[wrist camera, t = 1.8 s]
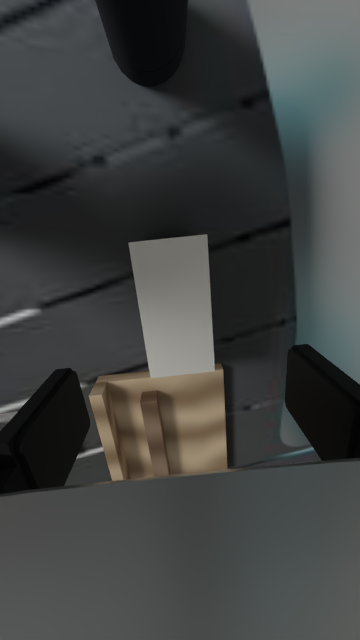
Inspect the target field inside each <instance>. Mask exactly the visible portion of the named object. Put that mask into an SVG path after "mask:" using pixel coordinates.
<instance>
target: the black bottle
mask: <svg viewBox="0 0 360 640" xmlns="http://www.w3.org/2000/svg"><path fill="white" fill-rule="evenodd" d="M95 1H96V4H97V7H98V10H99V13H100V16H101V20H102V23H103V26H104V29H105V32H106V35H107V38H108V42H109V45H110V48H111V51H112V54H113V57H114V60H115V61H116V63H117V65H118V66H119V68H120V69H121V71H122V72H123V73H124V74H125V75H126V76H127V77H128V78H129V79H130V80H132V81H134V82H136V83H138V84H141V85H145V86H155V85H157V84H160V83H162V82H165V81H166V80H167V79H168V78H169V77H170V76H171V75H173V74H174V72H175V70H176V69H177V67H178V65H179V63H180V62H181V58H182V54H183V50H184V46H185V32H186V18H187V4H188V0H95Z"/></svg>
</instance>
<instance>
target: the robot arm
mask: <svg viewBox="0 0 360 640" xmlns="http://www.w3.org/2000/svg"><path fill="white" fill-rule="evenodd" d="M285 404H286V407H287V409H288V411H289V412H290V414H291V415H292V417H293V418H294V420H295V421H296V423H297V424H298V426H299V427H300V429H301V430H302V432H303V433H304V435H305V436H306V437H307V439H308V440H309V442H310V443H311V445H312V446H313V448H314V449H315V451H316V452H317V454H318V455H319V457H320V458H321V460H322V461H314V462H303V463H292V464H281V465H270V466H259V467H248V468H238V469H227V470H217V471H207V472H196V473H186V474H176V475H166V476H156V477H146V478H136V479H127V480H117V481H108V482H98V483H89V484H79V485H70V486H64V484H65V482H66V480H67V478H68V475H69V473H70V471H71V469H72V466H73V464H74V462H75V460H76V457H77V455H78V453H79V450H80V448H81V446H82V444H83V441H84V439H85V437H86V435H87V432H88V430H89V427H90V418H89V415H88V411H87V408H86V404H85V401H84V397H83V394H82V390H81V387H80V383H79V380H78V376H77V373H76V372H75V371H72V369H71V368H66V369H57V370H55V371H54V372H53V373H52V374H51V375H50V376H49V378H48V379H47V380H46V381H45V382H44V383H43V384H42V385H41V386H40V388H39V389H38V390H37V391H36V392H35V393H34V394H33V395H32V397H31V398H30V399H29V400H28V401H27V402H26V403H25V404H24V405H23V407H22V408H21V409H20V410H19V411H18V412H17V413H16V414H15V416H14V417H13V418H12V419H11V420H10V421H9V422H8V423H7V424H6V426H5V427H4V428H3V429H2V430H1V431H0V640H360V385H359V384H358V383H357V382H356V381H354V380H353V379H352V378H350V377H349V376H348V375H347V374H345V373H344V372H343V371H341V370H340V369H339V368H338V367H336V366H335V365H334V364H332V363H331V362H330V361H329V360H327V359H326V358H325V357H324V356H322V355H321V354H320V353H319V352H317V351H316V350H315V349H313V348H312V347H311V346H309V345H308V344H303V345H293V346H292V349H289V350H288V358H287V374H286V390H285Z"/></svg>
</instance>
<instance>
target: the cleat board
mask: <svg viewBox="0 0 360 640" xmlns="http://www.w3.org/2000/svg"><path fill="white" fill-rule="evenodd" d="M89 398H90V402H91V406H92V409H93V413H94V416H95V420H96V424H97V427H98V431H99V434H100V438H101V442H102V445H103V449H104V452H105V456H106V460H107V463H108V467H109V470H110V474H111V478H112V481H117V480H127V479H136V478H146V477H156V476H166V475H176V474H186V473H196V472H207V471H217V470H227V447H226V423H225V399H224V375H223V368H222V365H221V363H220V364H215V371H213V372H204V373H195V374H185V375H176V376H166V377H157V378H151V377H150V371H144V372H135V373H125V374H116V375H107V376H99V377H98V379H97V381H96V383H95V385H94V387H93V389H92V391H91V393H90V395H89Z"/></svg>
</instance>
